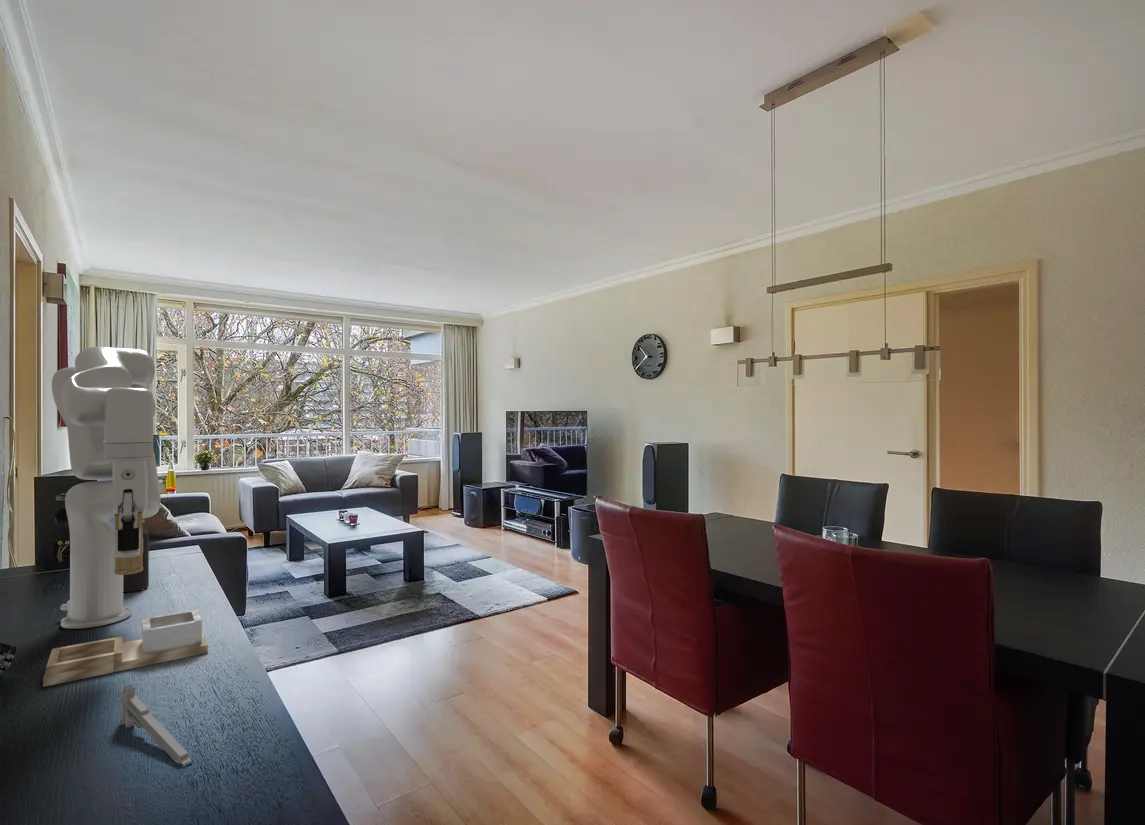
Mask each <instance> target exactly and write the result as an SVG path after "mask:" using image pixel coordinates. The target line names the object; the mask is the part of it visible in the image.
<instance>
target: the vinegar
mask: <svg viewBox="0 0 1145 825" xmlns="http://www.w3.org/2000/svg"><path fill="white" fill-rule="evenodd" d="M145 519H146V518H142V527H143V528H142V529H143V532H142V533H143V535H142V537H143V554H142V555H143V558H142V559H143V570H142V571H141V572H138V573H134V574H129V575H123V592H130V593H134V592H133V591H137V592H140V591H139V590H141V591H143V590H142V589H144V590H146V589H145V588H147V587H148V588H149V583H150V580H149V579H150V578H149V577H150V572H149V570H150V568H149V566H150V562H149V561H150V556H149V555H150V549H149V548H150V545H149V544H150V543H149V542H150V539H149V538H150V536H149V535H150V533H149V531H148V530H146V529H145V528H144V525H145ZM148 588H147V589H148Z"/></svg>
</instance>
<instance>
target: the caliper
mask: <svg viewBox="0 0 1145 825" xmlns="http://www.w3.org/2000/svg"><path fill="white" fill-rule="evenodd" d="M135 693H136V687H133V683H130V684H126V685H124V686H123V690H122V691H121V693H120V700H119V723H120V725H121V726H123V725H125V726H124V728H125V727H126V728H127V729H129V728H128V727H130V728H132V727H134V726H135V725H136V726H137V728H138V729H141V728H143V729H144V731H146V732H147V733H148V734H149V735H150V736H151V738H153V740H154V741H155V742H156V743H157V744H158V745H159V746H160V747H161V748H162V749H163V751H164V752H165V753H166V754H167V755H168V756H169V757H170V759H172V758H173V759H174V760H176V761H178V762H179V763H181V764H183V765H185V764H186V763H188V762H190V761H192V759H191V758H190V757H189V752H188V751H187V750H186V749H185V748H184V747H183V746H182V745H181V744H180V742H178V740H176V738H175V737H174V736H173V735H172V734H171V733H170V732H169V731H168V730H167V729H166V728H165V727H164V726H163V725H162V724H161V723H160V722H159V721H158V720H157V719H156V718H155V717H154V716H153V714H151V712H150V709H149V708H148V706H147V705H146V704H145V703H144V702H143V701H142V700H141V699H140V697H138V695H136V694H135ZM124 723H125V724H124ZM122 724H123V725H122ZM126 728H125V729H126ZM173 759H172V760H173ZM174 760H173V761H174ZM192 762H193V761H192ZM181 764H180V765H181Z"/></svg>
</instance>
